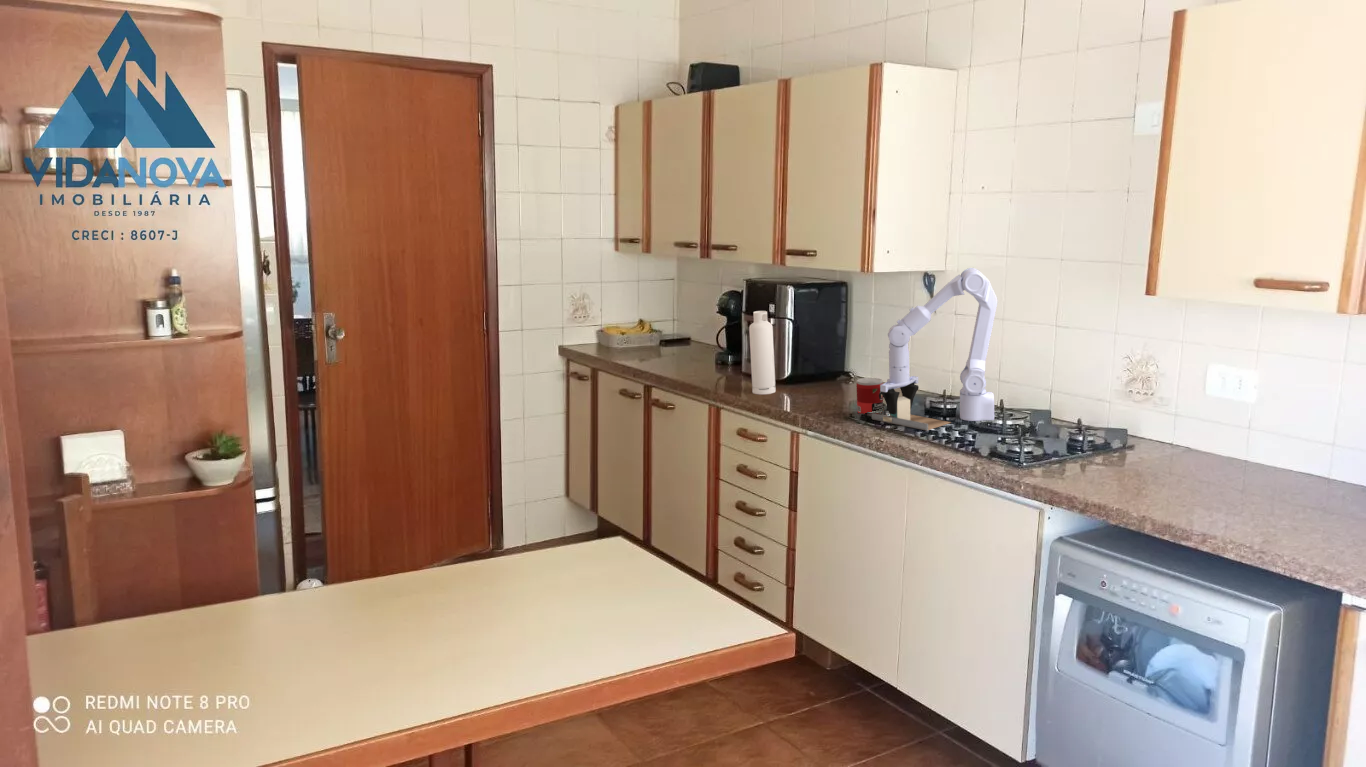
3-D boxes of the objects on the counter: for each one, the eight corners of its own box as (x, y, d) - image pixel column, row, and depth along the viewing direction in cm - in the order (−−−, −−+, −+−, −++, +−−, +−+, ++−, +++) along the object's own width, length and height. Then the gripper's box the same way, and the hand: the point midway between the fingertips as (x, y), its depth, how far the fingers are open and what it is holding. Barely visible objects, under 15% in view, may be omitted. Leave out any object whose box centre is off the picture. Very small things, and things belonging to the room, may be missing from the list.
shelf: (951, 427, 268) (951, 416, 268) (926, 435, 262) (926, 424, 261) (896, 416, 284) (896, 405, 283) (871, 424, 278) (871, 413, 277)
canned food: (876, 419, 282) (875, 384, 279) (852, 417, 287) (851, 381, 284) (887, 413, 288) (887, 378, 285) (864, 411, 292) (863, 376, 290)
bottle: (764, 395, 322) (760, 314, 316) (747, 392, 328) (743, 312, 322) (780, 390, 327) (777, 311, 321) (763, 388, 333) (759, 309, 327)
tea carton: (910, 419, 274) (910, 399, 272) (896, 421, 273) (896, 401, 272) (902, 415, 279) (902, 396, 277) (889, 417, 278) (889, 397, 276)
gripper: (904, 360, 280) (905, 404, 283) (871, 368, 271) (872, 414, 274) (923, 363, 274) (924, 408, 277) (890, 371, 266) (891, 418, 269)
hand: (900, 411), depth 275 cm, fingers open, 6 cm apart
